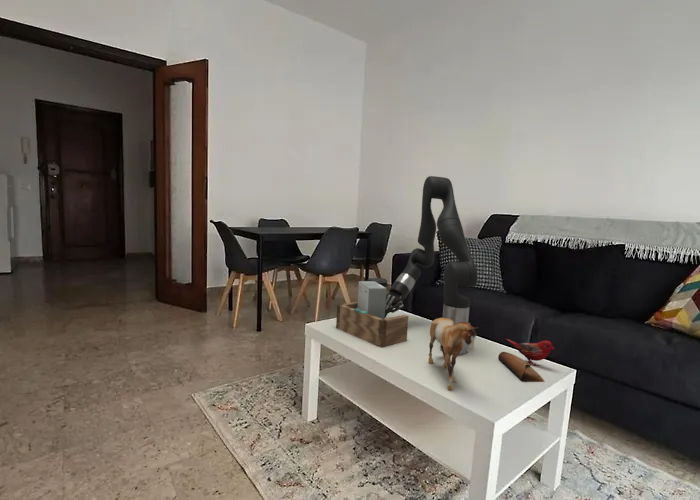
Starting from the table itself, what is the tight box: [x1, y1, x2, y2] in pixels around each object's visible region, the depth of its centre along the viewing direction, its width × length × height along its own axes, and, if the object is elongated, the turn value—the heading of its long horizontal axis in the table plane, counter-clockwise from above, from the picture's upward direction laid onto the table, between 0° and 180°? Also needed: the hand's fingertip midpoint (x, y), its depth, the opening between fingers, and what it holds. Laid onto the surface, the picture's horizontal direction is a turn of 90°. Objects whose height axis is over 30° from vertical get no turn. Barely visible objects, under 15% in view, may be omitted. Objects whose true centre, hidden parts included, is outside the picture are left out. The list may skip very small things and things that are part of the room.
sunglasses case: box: [497, 351, 545, 383], centre depth 135 cm, size 18×7×7 cm
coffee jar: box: [366, 277, 388, 291], centre depth 188 cm, size 10×8×19 cm
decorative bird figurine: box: [505, 338, 555, 367], centre depth 142 cm, size 3×18×10 cm, turn 39°
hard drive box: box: [357, 280, 387, 319], centre depth 166 cm, size 16×8×20 cm, turn 14°
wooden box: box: [335, 300, 409, 348], centre depth 163 cm, size 27×14×11 cm, turn 40°
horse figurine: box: [428, 317, 479, 391], centre depth 127 cm, size 31×8×21 cm, turn 2°
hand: (380, 318), depth 167 cm, fingers closed
